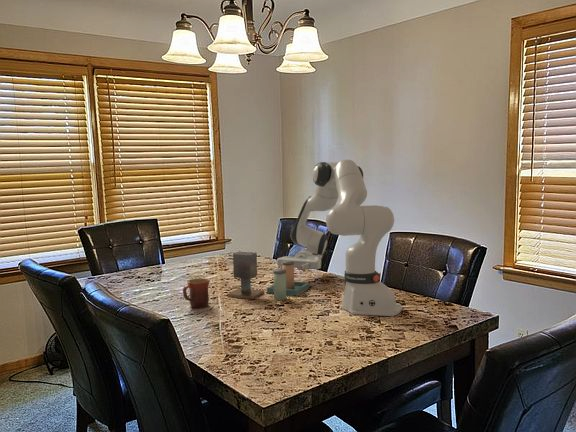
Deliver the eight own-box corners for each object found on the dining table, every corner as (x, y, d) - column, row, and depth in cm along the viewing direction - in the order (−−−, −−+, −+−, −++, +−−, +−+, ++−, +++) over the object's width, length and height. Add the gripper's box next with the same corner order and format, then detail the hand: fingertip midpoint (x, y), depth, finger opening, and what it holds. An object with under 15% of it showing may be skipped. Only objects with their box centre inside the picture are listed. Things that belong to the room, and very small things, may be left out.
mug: (200, 301, 196) (199, 277, 195) (215, 305, 191) (214, 279, 189) (177, 309, 186) (175, 283, 185) (192, 313, 181) (191, 286, 180)
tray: (309, 287, 214) (309, 282, 214) (297, 296, 201) (296, 290, 201) (280, 285, 220) (280, 280, 219) (267, 292, 207) (267, 287, 207)
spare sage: (288, 297, 199) (287, 269, 198) (283, 301, 194) (282, 272, 193) (277, 296, 201) (276, 268, 200) (271, 299, 196) (271, 271, 195)
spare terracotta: (296, 287, 212) (295, 260, 210) (291, 290, 207) (291, 263, 206) (285, 286, 214) (285, 260, 212) (280, 289, 209) (280, 262, 208)
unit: (264, 293, 206) (262, 252, 204) (253, 299, 197) (251, 256, 195) (239, 290, 211) (238, 250, 209) (227, 296, 202) (226, 254, 200)
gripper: (283, 252, 230) (271, 257, 218) (323, 254, 222) (313, 260, 209) (283, 265, 231) (271, 271, 218) (324, 268, 222) (313, 275, 210)
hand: (292, 266), depth 214 cm, fingers open, 8 cm apart
